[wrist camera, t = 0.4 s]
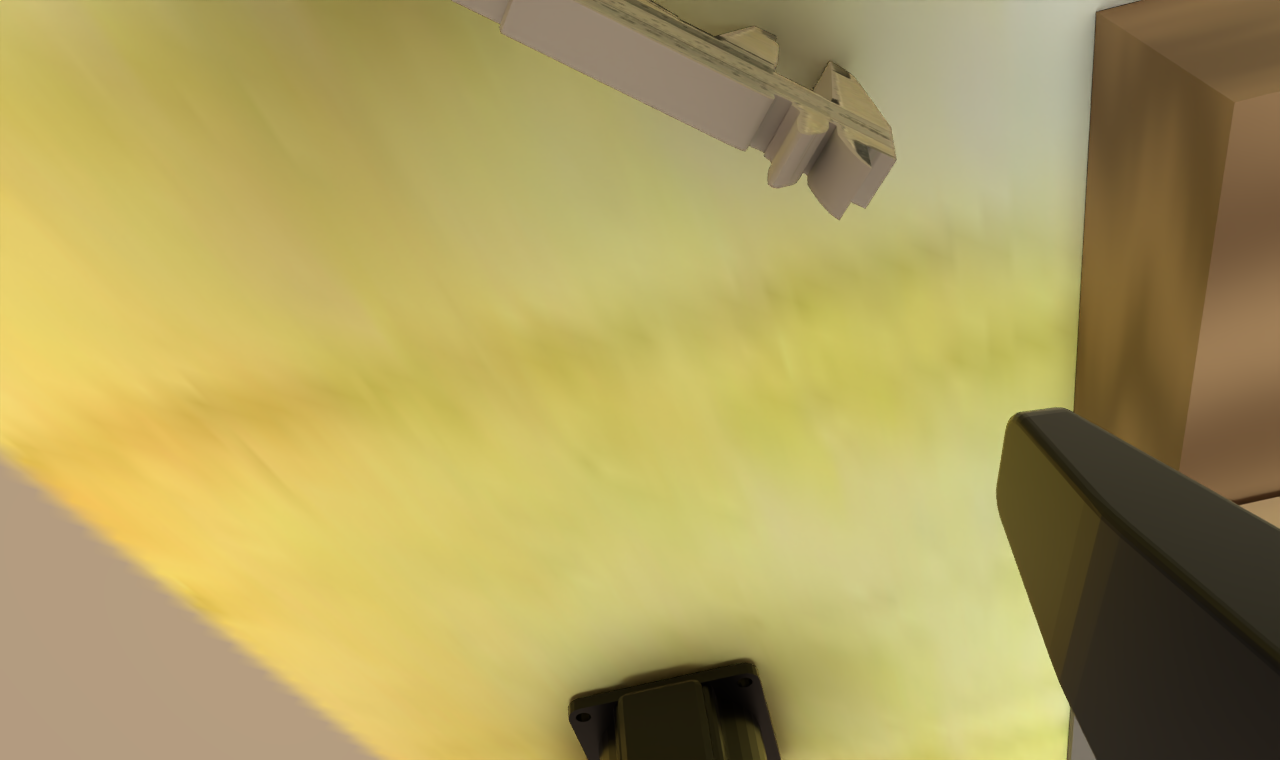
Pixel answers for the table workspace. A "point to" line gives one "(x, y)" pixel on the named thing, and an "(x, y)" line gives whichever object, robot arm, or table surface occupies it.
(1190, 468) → the toolbox
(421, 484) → the table surface
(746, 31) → the caliper
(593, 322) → the table surface
